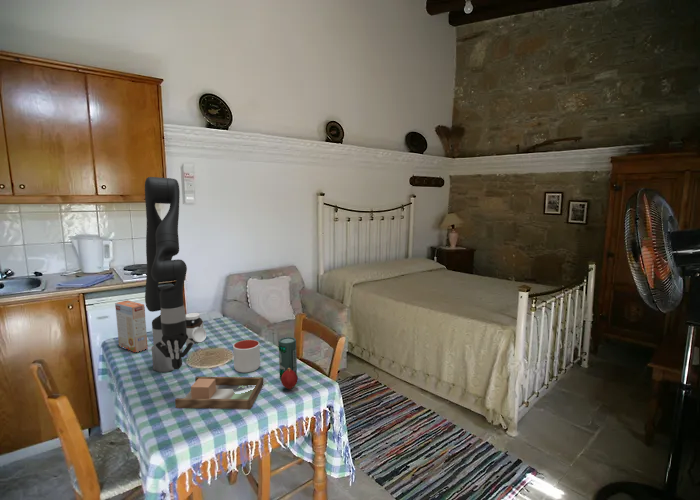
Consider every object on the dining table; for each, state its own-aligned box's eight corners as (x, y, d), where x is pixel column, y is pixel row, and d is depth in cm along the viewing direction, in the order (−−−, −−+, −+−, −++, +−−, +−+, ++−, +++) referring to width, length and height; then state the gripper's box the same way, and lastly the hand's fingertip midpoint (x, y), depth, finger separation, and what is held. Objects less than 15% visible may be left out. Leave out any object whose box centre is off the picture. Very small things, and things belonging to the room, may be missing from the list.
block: (191, 399, 129) (190, 387, 128) (199, 390, 135) (198, 378, 134) (209, 399, 129) (208, 387, 128) (216, 390, 135) (215, 378, 134)
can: (282, 374, 147) (280, 337, 145) (297, 374, 147) (296, 337, 145) (278, 382, 141) (277, 343, 139) (295, 382, 141) (294, 343, 139)
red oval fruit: (282, 385, 139) (281, 364, 138) (298, 384, 139) (297, 363, 138) (280, 393, 133) (280, 371, 132) (297, 392, 134) (296, 371, 133)
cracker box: (148, 349, 172) (145, 304, 169) (135, 353, 167) (131, 307, 164) (131, 342, 180) (128, 299, 177) (118, 347, 175) (114, 302, 172)
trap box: (175, 408, 124) (175, 399, 124) (196, 384, 140) (196, 376, 140) (250, 409, 123) (250, 401, 123) (263, 385, 139) (263, 377, 139)
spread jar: (191, 334, 190) (190, 311, 189) (213, 335, 189) (211, 312, 187) (177, 343, 179) (175, 319, 177) (200, 344, 177) (198, 320, 175)
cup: (253, 375, 147) (252, 350, 146) (229, 372, 149) (228, 348, 148) (264, 363, 157) (263, 340, 155) (241, 361, 159) (240, 338, 157)
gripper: (147, 322, 125) (152, 373, 127) (187, 322, 125) (191, 373, 127) (159, 316, 132) (163, 363, 135) (197, 315, 132) (201, 363, 134)
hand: (177, 368), depth 131 cm, fingers closed
